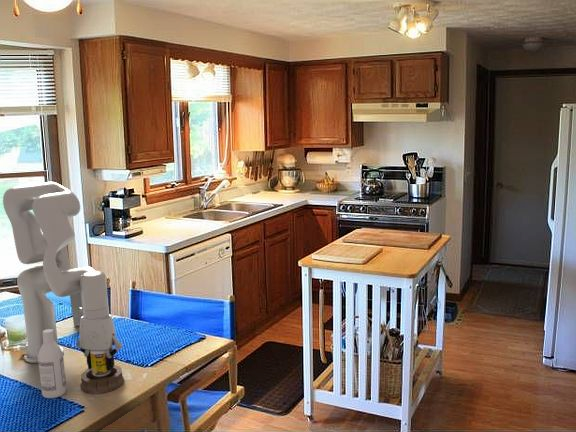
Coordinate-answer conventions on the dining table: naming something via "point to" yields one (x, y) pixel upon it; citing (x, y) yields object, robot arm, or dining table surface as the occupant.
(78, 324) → the skincare box
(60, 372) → the bath foam
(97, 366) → the supplement bottle
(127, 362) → the dining table surface
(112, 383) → the round brown bowl
